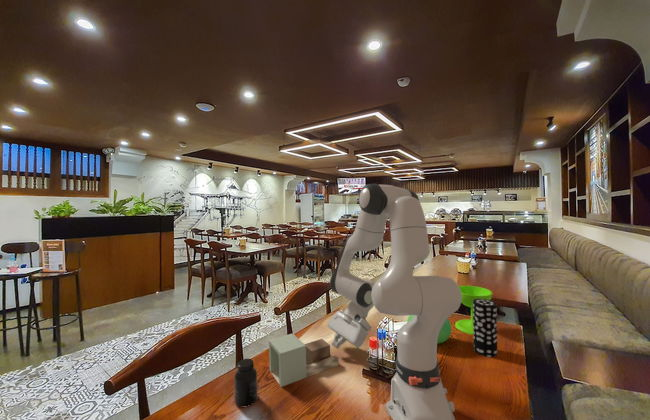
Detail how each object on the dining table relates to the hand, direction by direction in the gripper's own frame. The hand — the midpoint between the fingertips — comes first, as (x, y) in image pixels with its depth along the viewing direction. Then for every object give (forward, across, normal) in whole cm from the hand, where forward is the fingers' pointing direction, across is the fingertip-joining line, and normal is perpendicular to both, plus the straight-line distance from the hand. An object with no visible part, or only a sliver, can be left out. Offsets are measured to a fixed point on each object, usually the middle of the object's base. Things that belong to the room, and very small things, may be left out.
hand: (334, 346), depth 109 cm
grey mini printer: (+13, 0, -7) cm, 15 cm away
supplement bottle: (+29, +4, -22) cm, 37 cm away
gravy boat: (-26, +11, +33) cm, 44 cm away
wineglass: (-46, +15, +53) cm, 72 cm away
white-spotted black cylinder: (-34, +30, +41) cm, 61 cm away
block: (+8, 0, -3) cm, 9 cm away
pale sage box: (+18, 0, -11) cm, 21 cm away
